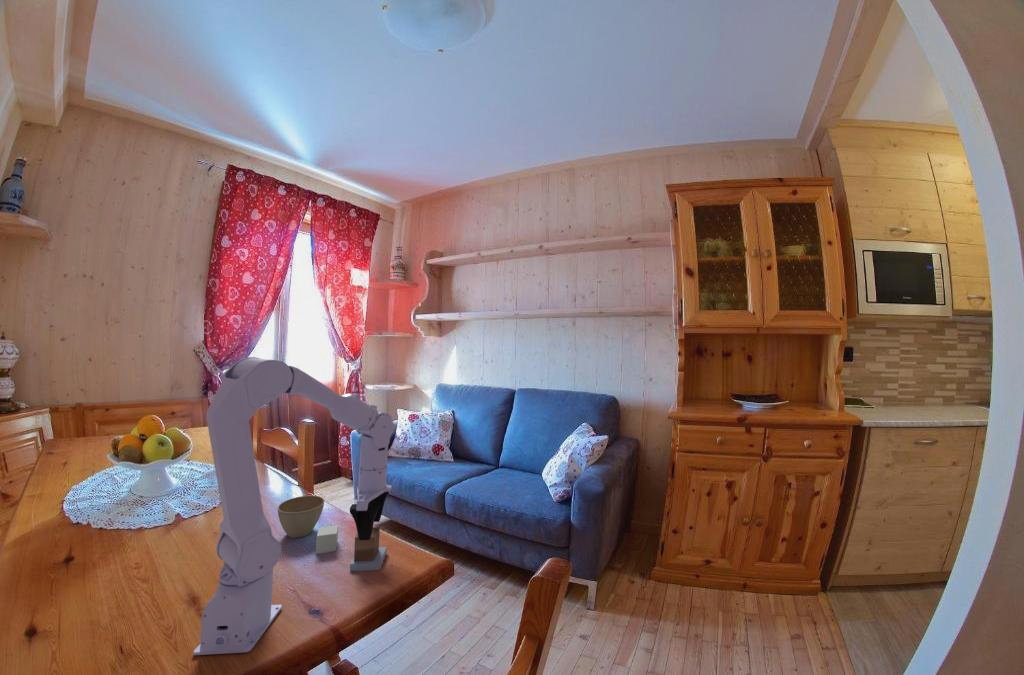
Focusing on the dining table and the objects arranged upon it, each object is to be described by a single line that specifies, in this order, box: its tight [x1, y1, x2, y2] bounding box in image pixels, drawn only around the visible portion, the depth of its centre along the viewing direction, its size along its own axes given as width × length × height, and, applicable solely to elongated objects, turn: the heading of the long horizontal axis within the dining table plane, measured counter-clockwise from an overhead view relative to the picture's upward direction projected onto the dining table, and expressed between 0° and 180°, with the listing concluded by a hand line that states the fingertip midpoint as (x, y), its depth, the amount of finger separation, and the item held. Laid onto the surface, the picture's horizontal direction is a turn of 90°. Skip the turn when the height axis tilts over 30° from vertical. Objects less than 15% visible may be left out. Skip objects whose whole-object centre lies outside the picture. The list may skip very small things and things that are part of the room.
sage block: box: [315, 524, 339, 555], centre depth 82 cm, size 4×4×4 cm
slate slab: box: [349, 546, 387, 572], centre depth 77 cm, size 6×6×2 cm
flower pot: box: [277, 495, 325, 539], centre depth 88 cm, size 10×10×7 cm
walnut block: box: [353, 526, 381, 561], centre depth 77 cm, size 4×4×5 cm
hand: (369, 529), depth 77 cm, fingers open, 7 cm apart
